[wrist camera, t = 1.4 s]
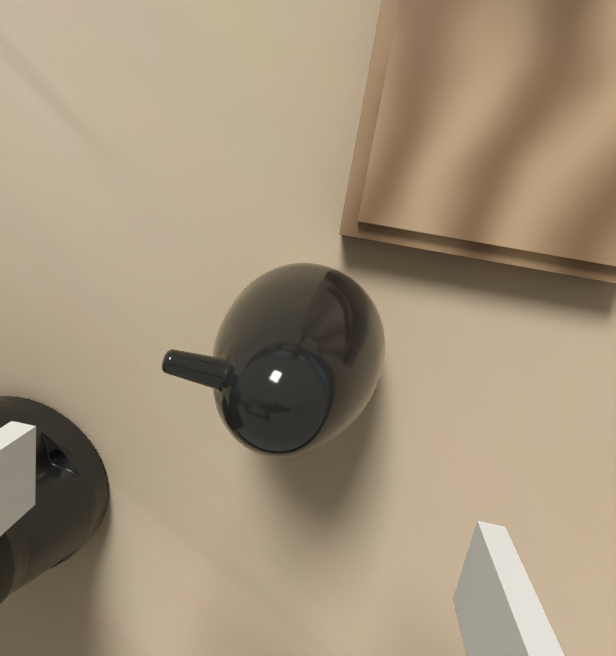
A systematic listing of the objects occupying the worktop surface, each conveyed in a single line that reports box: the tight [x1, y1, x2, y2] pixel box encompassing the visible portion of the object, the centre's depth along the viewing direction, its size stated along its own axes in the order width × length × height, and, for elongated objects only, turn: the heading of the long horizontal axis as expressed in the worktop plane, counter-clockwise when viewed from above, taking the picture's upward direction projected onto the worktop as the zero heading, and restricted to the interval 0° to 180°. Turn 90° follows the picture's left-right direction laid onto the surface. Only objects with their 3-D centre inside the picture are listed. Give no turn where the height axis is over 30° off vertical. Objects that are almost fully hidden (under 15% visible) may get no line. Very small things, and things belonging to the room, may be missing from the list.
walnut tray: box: [339, 0, 616, 283], centre depth 27 cm, size 18×18×3 cm
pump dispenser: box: [162, 263, 385, 458], centre depth 26 cm, size 10×10×15 cm
